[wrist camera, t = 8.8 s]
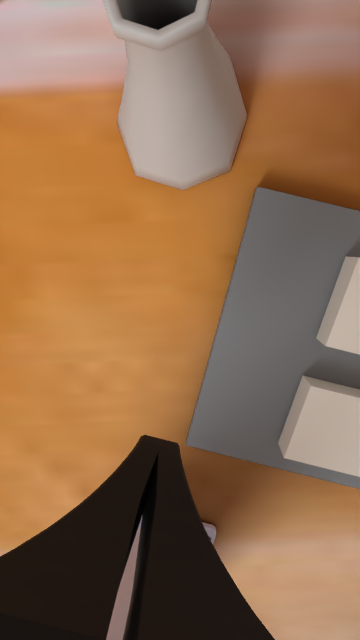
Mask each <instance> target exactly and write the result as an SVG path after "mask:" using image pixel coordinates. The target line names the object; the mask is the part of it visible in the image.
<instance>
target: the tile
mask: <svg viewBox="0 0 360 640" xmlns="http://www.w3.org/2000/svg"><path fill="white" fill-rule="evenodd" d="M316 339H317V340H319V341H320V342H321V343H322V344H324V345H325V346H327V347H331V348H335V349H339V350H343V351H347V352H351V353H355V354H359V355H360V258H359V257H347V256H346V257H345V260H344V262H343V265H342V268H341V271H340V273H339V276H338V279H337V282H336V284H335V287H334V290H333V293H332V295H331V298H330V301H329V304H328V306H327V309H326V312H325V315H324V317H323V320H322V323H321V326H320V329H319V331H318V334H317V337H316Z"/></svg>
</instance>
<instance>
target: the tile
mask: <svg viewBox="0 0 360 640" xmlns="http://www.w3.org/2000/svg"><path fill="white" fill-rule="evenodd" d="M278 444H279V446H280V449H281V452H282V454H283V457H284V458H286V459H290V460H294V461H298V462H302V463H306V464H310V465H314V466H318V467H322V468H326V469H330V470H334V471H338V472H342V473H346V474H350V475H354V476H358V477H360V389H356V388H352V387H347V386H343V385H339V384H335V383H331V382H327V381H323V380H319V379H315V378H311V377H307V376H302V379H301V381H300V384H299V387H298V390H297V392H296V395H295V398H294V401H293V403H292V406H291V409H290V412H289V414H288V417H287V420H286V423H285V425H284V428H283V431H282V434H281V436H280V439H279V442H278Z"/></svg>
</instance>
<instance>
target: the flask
mask: <svg viewBox="0 0 360 640" xmlns="http://www.w3.org/2000/svg"><path fill="white" fill-rule="evenodd" d="M211 1H212V0H103V3H104V6H105V9H106V11H107V14H108V17H109V20H110V23H111V26H112V29H113V32H114V34H115V35H116V36H117V37H118V38H119V39H122V40H125V44H126V53H127V67H126V75H125V82H124V89H123V96H122V101H121V105H120V110H119V115H118V121H117V125H118V128H119V131H120V133H121V136H122V139H123V142H124V144H125V147H126V150H127V153H128V155H129V158H130V161H131V164H132V166H133V169H134V172H135V174H136V176H139V177H143V178H146V179H149V180H152V181H155V182H158V183H162V184H165V185H168V186H171V187H174V188H178V189H181V190H184V189H187V188H189V187H192V186H194V185H197V184H199V183H202V182H204V181H207V180H209V179H212V178H214V177H217V176H219V175H222V174H224V173H227V172H229V171H230V170H231V167H232V163H233V160H234V157H235V154H236V151H237V148H238V144H239V141H240V138H241V135H242V132H243V129H244V125H245V122H246V119H247V113H246V110H245V106H244V103H243V99H242V96H241V92H240V89H239V85H238V82H237V78H236V75H235V71H234V67H233V64H232V60H231V58H230V56H229V55H228V53H227V52H226V50H225V49H224V48H223V46H222V45H221V44H220V42H219V41H218V39H217V38H216V36H215V34H214V32H213V31H212V29H211V27H210V25H209V24H208V12H209V9H210V5H211Z"/></svg>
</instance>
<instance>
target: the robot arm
mask: <svg viewBox="0 0 360 640" xmlns="http://www.w3.org/2000/svg"><path fill="white" fill-rule="evenodd" d="M215 537H216V528H215V526H213V525H211V524H207V523H203V522H202V521H201V518H200V516H199V514H198V511H197V508H196V506H195V503H194V501H193V498H192V495H191V492H190V489H189V486H188V483H187V479H186V476H185V472H184V469H183V465H182V460H181V455H180V448H179V445H178V443H175V442H171V441H167V440H163V439H159V438H155V437H151V436H147V435H143V436H141V437H140V439H139V441H138V443H137V444H136V446H135V447H134V449H133V450H132V451H131V453H130V454H129V455H128V457H127V458H126V459H125V460H124V461H123V462H122V464H121V465H120V466H119V467H118V468H117V469H116V470H115V472H114V473H113V474H112V475H111V476H110V477H109V478H108V479H107V480H106V481H105V482H104V483H103V484H102V485H101V486H100V487H99V488H98V489H96V490H95V491H94V492H93V493H92V494H91V495H90V496H89V497H88V498H86V499H85V500H84V501H83V502H82V503H80V504H79V505H78V506H77V507H75V508H74V509H73V510H72V511H70V512H69V513H68V514H66V515H65V516H64V517H62V518H61V519H60V520H58V521H57V522H55V523H54V524H53V525H51V526H50V527H48V528H47V529H45V530H44V531H42V532H40V533H39V534H37V535H36V536H34V537H33V538H31V539H29V540H28V541H26V542H25V543H23V544H21V545H20V546H18V547H17V548H15V549H13V550H11V551H10V552H8V553H6V554H4V555H2V556H0V640H275V639H274V638H273V637H272V635H271V634H270V633H269V631H268V630H267V629H266V628H265V626H264V625H263V624H262V622H261V621H260V620H259V618H258V617H257V616H256V615H255V613H254V612H253V610H252V609H251V607H250V606H249V604H248V603H247V602H246V600H245V599H244V597H243V596H242V594H241V593H240V591H239V589H238V588H237V586H236V584H235V583H234V581H233V579H232V578H231V576H230V574H229V573H228V571H227V569H226V568H225V566H224V564H223V563H222V561H221V559H220V557H219V556H218V554H217V552H216V550H215V548H214V546H213V543H214V540H215Z"/></svg>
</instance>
